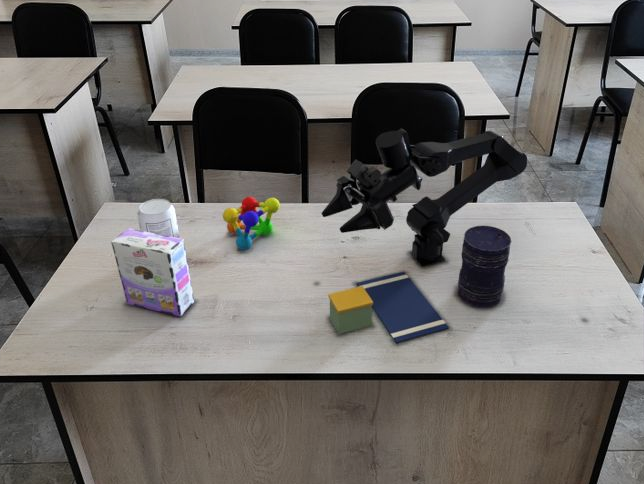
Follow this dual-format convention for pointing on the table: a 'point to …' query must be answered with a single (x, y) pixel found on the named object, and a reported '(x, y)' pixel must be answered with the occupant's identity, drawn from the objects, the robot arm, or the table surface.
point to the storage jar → (483, 266)
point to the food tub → (350, 309)
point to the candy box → (154, 271)
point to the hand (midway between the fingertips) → (331, 222)
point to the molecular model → (250, 220)
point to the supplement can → (158, 218)
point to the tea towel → (402, 307)
